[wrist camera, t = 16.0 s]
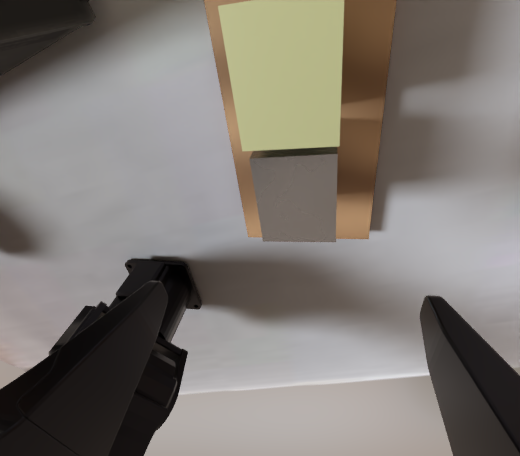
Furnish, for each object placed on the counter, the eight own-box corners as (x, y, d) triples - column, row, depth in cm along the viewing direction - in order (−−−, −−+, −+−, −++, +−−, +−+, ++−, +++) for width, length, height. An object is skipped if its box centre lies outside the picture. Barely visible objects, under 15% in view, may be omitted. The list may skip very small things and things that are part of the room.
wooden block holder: (366, 230, 22) (379, 305, 17) (250, 229, 24) (228, 296, 19) (429, -325, 9) (571, -784, 4) (169, -231, 11) (20, -447, 6)
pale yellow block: (336, 104, 16) (339, 146, 12) (265, 110, 17) (242, 151, 13) (338, -10, 13) (344, -15, 9) (253, 4, 14) (217, 5, 10)
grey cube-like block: (334, 194, 20) (335, 242, 16) (275, 195, 21) (262, 241, 17) (335, 118, 17) (337, 154, 13) (266, 123, 18) (249, 158, 14)
